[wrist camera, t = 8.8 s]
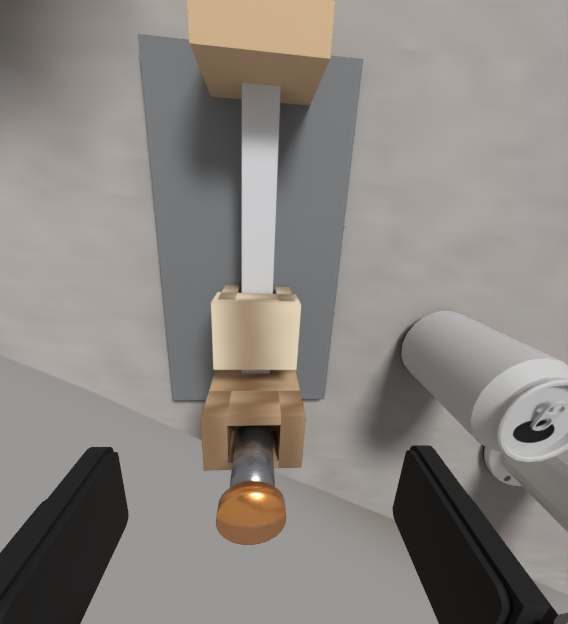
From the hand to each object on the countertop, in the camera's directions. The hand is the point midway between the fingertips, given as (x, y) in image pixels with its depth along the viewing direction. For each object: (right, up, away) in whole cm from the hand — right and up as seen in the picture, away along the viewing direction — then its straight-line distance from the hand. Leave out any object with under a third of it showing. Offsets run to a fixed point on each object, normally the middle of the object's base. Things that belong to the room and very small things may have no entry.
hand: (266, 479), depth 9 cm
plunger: (-2, -3, +11) cm, 11 cm away
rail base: (-2, +10, +15) cm, 18 cm away
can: (+16, +2, +19) cm, 25 cm away
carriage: (-2, +5, +15) cm, 16 cm away
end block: (-2, -1, +18) cm, 19 cm away
